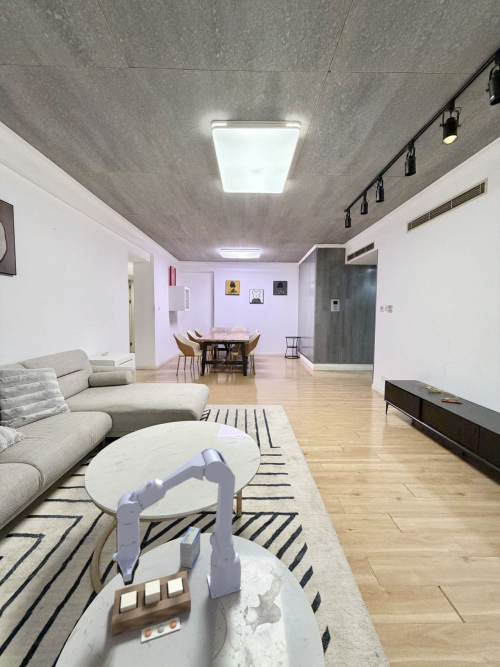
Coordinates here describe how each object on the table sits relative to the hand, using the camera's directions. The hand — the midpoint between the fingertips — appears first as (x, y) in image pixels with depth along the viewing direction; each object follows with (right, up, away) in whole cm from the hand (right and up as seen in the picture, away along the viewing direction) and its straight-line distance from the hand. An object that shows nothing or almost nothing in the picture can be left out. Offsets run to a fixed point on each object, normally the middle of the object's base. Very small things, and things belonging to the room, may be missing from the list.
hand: (128, 582), depth 81 cm
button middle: (+6, -7, +3) cm, 9 cm away
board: (+6, -9, +3) cm, 11 cm away
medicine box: (+14, -9, +20) cm, 25 cm away
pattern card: (+10, -10, -3) cm, 15 cm away
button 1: (0, -8, +1) cm, 8 cm away
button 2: (+12, -8, +5) cm, 15 cm away
